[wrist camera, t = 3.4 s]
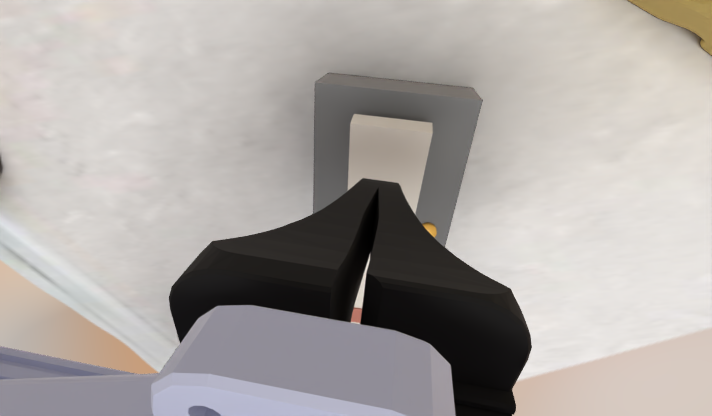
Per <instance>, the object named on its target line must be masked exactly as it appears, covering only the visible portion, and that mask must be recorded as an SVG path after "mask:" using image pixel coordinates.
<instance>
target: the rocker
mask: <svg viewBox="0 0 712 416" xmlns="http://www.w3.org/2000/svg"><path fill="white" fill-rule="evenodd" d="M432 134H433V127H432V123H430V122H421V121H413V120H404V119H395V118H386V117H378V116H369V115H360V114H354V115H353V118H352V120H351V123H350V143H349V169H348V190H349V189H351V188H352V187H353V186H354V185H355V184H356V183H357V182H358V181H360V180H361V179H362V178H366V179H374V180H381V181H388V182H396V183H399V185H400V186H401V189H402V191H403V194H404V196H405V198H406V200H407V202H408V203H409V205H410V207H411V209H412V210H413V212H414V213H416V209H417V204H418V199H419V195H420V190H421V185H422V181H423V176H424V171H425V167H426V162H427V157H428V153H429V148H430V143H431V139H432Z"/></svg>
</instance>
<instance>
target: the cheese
mask: <svg viewBox="0 0 712 416" xmlns="http://www.w3.org/2000/svg"><path fill="white" fill-rule="evenodd" d="M628 1H630V2H631V3H633V4H635V5H636V6H638V7H640V8H641V9H643V10H645V11H646V12H648V13H650V14H652V15H653V16H655V17H657V18H659V19H661V20H663V21H667V22H670V23H672V24H675V25H678V26H680V27H683V28H686V29H688V30H690V31H692V32H694V33H695V34H697V35H698V36H700V37H701V38H702V40H701V42H700V44H701V47H702V48H703V49H704V50H705V51H706V52H708V53H709V54H710V55H711V56H712V0H628Z"/></svg>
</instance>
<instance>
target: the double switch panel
mask: <svg viewBox="0 0 712 416" xmlns="http://www.w3.org/2000/svg"><path fill="white" fill-rule="evenodd" d="M482 101H483V100H482V99H481V98H480V96H479V95H478V94H477V92H476V91H475V90H474V89H473V88H468V87H459V86H449V85H439V84H430V83H420V82H411V81H401V80H391V79H382V78H372V77H363V76H353V75H344V74H334V73H327V74H326V75H325V76H323V77H322V78H320V79H319V80H317V81H316V82H315V110H314V196H313V214H314V213H316V212H318V211H320V210H322V209H323V208H325V207H326V206H328V205H329V204H331V203H332V202H334V201H335V200H337V199H338V198H339V197H341V196H342V195H343V194H344V193H346V192H347V191H348V169H349V143H350V123H351V120H352V118H353V115H354V114H360V115H369V116H378V117H386V118H395V119H404V120H413V121H421V122H430V123H432V127H433V134H432V139H431V143H430V148H429V153H428V157H427V162H426V167H425V171H424V176H423V181H422V185H421V190H420V195H419V199H418V204H417V209H416V213H415V215H416V216H417V218H418V219H419V221H420V222H421V223H422V225H423V226H424V227H425V229H426V230H427V231H428V232H429V233H430V234H431V235H432V236H433V237H434V238H435V239H436V240H437V241H438V242H439V243H440V244H441V245H442V246H444V247H445V244H446V240H447V236H448V233H449V229H450V225H451V221H452V217H453V213H454V209H455V206H456V202H457V198H458V194H459V190H460V186H461V182H462V178H463V175H464V171H465V167H466V163H467V159H468V155H469V151H470V147H471V144H472V140H473V136H474V132H475V128H476V124H477V120H478V116H479V113H480V109H481V105H482Z"/></svg>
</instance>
